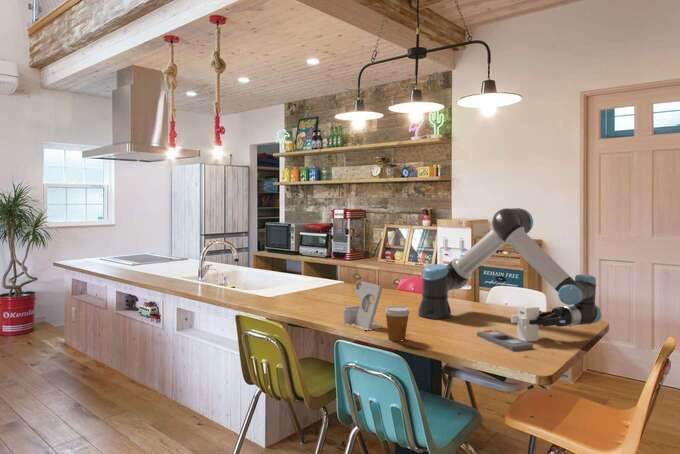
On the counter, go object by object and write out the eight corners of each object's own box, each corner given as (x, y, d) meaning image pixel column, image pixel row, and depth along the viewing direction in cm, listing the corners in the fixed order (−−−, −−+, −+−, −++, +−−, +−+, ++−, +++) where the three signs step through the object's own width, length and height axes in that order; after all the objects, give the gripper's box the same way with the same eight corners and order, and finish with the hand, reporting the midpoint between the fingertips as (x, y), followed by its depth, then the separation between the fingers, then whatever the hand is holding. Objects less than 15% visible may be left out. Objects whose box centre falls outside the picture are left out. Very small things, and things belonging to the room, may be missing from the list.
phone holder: (340, 322, 211) (341, 281, 210) (358, 319, 217) (359, 279, 216) (365, 331, 197) (365, 287, 196) (384, 328, 203) (384, 285, 202)
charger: (516, 339, 184) (517, 305, 183) (529, 338, 186) (530, 304, 186) (524, 342, 180) (526, 308, 179) (538, 341, 182) (539, 307, 181)
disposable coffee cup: (406, 335, 191) (407, 305, 191) (411, 342, 182) (411, 311, 181) (382, 335, 191) (383, 305, 190) (385, 342, 181) (386, 311, 181)
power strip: (476, 339, 187) (477, 330, 187) (496, 337, 190) (496, 328, 190) (512, 355, 168) (512, 344, 168) (532, 352, 172) (533, 342, 171)
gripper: (583, 331, 181) (533, 336, 173) (547, 320, 197) (500, 324, 189) (583, 311, 181) (533, 316, 172) (548, 302, 197) (501, 305, 189)
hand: (516, 320), depth 181 cm, fingers closed on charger, 4 cm apart
